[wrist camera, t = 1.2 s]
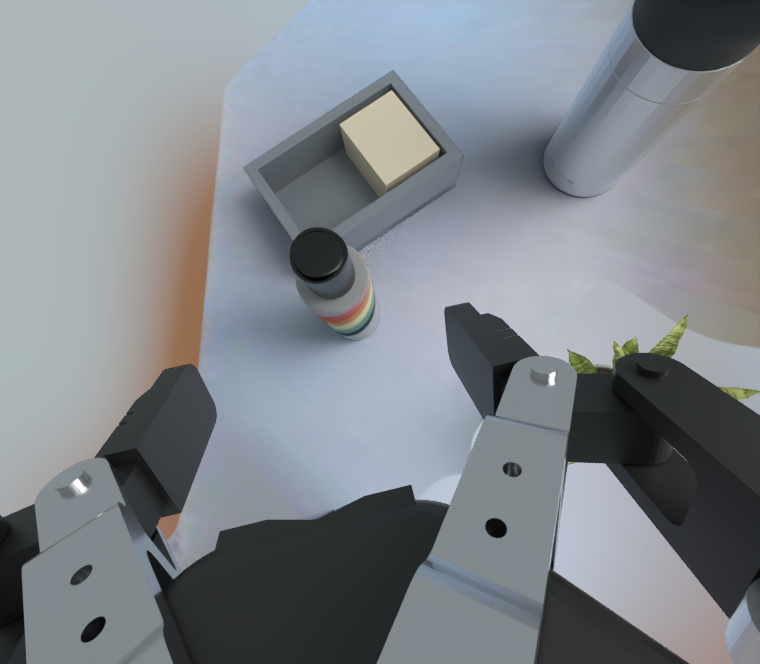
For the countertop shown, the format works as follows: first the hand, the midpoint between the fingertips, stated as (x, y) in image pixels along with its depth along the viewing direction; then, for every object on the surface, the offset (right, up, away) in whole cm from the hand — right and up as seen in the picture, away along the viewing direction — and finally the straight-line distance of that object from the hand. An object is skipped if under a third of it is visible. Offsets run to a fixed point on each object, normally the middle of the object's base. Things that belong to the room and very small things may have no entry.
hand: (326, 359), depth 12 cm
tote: (-1, +18, +33) cm, 38 cm away
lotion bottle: (-1, +3, +31) cm, 31 cm away
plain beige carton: (+3, +21, +33) cm, 39 cm away
